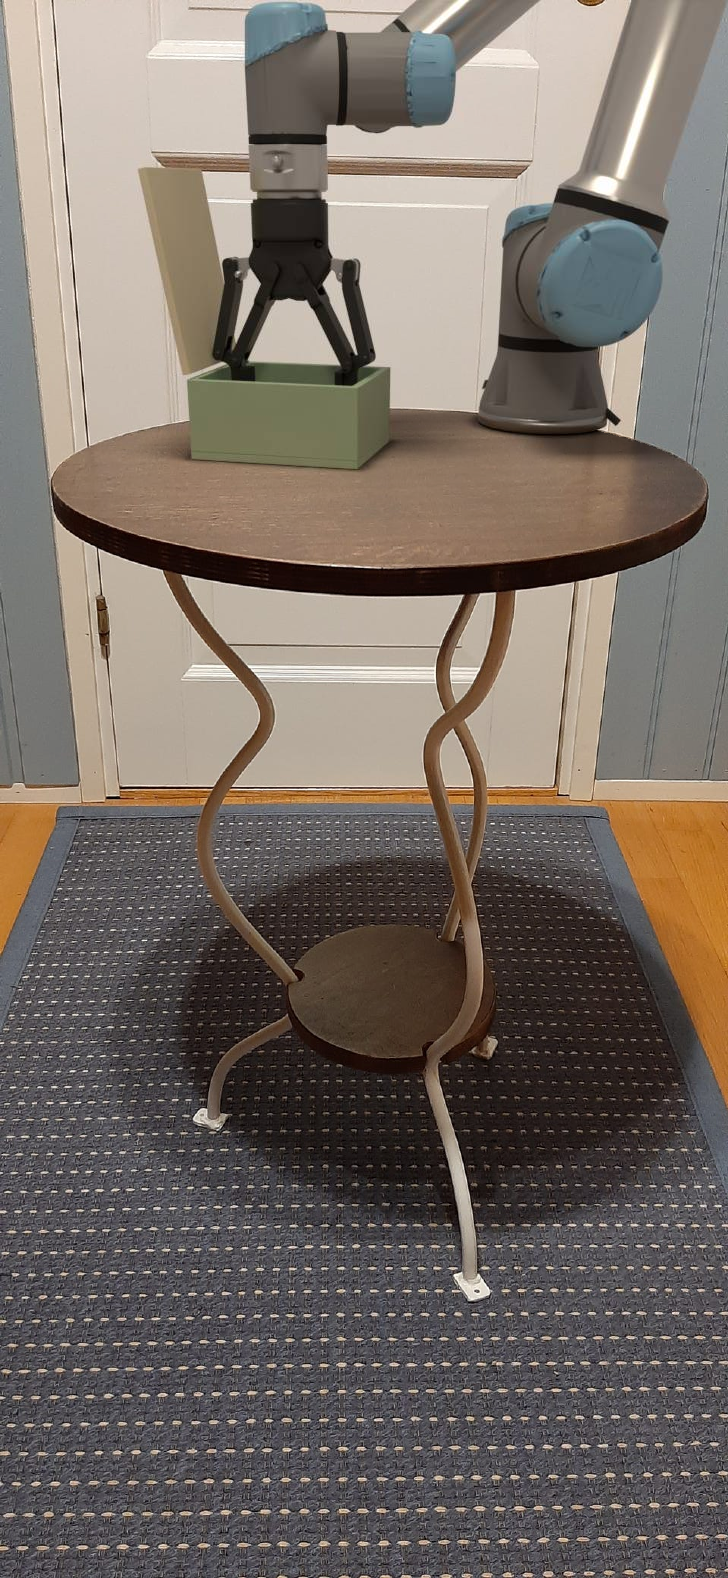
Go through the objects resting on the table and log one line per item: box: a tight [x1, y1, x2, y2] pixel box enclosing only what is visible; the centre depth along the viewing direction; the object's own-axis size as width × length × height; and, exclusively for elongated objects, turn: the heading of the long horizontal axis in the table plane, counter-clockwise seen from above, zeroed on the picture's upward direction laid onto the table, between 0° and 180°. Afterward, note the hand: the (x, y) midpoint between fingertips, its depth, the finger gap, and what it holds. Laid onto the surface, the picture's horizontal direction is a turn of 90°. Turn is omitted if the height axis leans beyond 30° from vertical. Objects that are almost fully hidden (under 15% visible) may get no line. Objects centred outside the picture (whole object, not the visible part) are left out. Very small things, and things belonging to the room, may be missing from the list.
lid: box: [137, 166, 237, 376], centre depth 117 cm, size 18×15×1 cm
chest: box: [186, 360, 391, 470], centre depth 121 cm, size 18×15×8 cm
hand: (295, 433), depth 122 cm, fingers closed on gaming controller, 9 cm apart
